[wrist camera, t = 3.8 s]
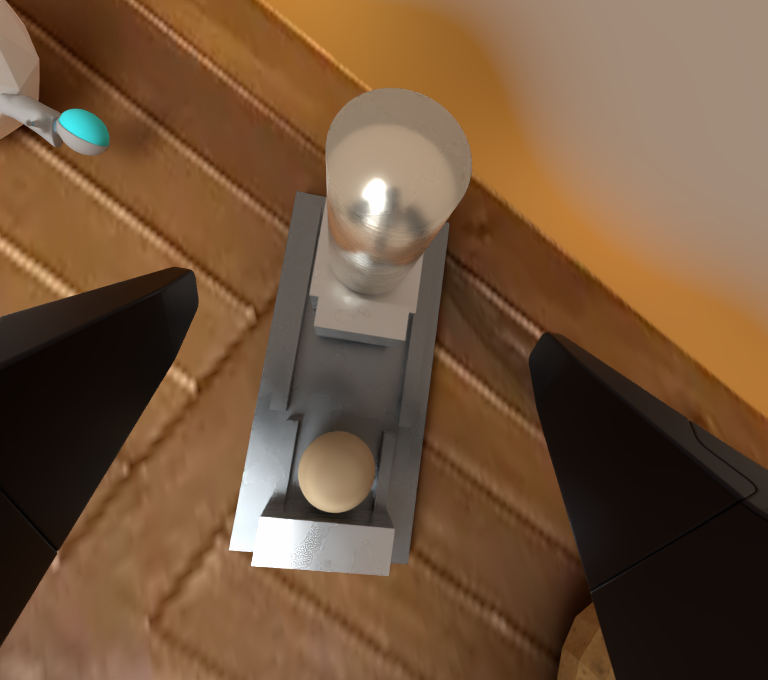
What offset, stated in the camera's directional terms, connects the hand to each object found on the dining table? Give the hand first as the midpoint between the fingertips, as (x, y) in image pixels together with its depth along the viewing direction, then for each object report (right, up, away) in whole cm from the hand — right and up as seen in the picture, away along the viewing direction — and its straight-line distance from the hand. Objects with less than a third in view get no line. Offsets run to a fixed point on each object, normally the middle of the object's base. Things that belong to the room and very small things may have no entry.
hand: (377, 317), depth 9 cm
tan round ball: (-2, -7, +9) cm, 12 cm away
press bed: (-2, -2, +11) cm, 11 cm away
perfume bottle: (-19, +11, +10) cm, 24 cm away
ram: (-1, +2, +10) cm, 11 cm away
